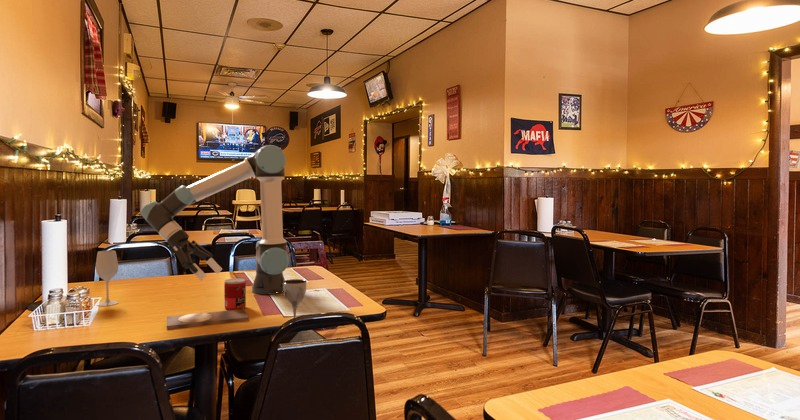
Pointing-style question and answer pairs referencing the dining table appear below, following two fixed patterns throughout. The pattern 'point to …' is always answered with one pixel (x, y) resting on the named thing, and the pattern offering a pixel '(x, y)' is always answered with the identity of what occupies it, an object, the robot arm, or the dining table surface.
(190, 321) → the serving board
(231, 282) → the canned food
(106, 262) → the wineglass
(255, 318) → the dining table surface
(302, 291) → the wine glass
